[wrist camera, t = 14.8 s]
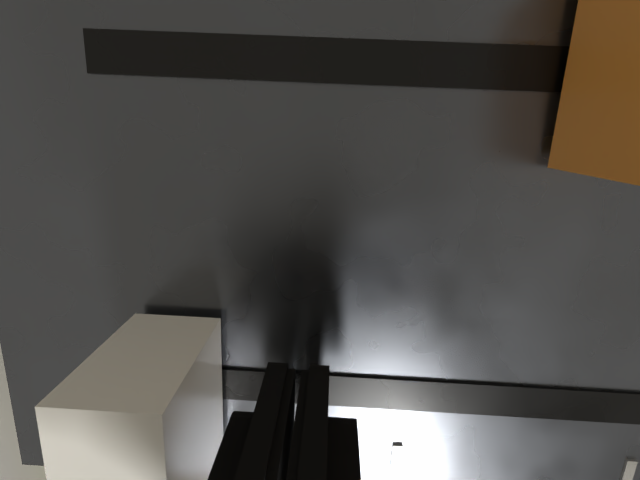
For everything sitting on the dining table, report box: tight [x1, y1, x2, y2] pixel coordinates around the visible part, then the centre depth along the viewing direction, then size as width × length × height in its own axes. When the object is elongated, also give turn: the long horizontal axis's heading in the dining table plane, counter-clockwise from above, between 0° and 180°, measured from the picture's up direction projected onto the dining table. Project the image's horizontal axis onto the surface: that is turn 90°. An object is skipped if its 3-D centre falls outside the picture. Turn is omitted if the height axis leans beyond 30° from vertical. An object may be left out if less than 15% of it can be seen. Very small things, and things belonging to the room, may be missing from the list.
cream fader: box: [35, 313, 223, 480], centre depth 10 cm, size 2×4×4 cm, turn 178°
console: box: [0, 0, 640, 480], centre depth 12 cm, size 24×16×2 cm, turn 88°
